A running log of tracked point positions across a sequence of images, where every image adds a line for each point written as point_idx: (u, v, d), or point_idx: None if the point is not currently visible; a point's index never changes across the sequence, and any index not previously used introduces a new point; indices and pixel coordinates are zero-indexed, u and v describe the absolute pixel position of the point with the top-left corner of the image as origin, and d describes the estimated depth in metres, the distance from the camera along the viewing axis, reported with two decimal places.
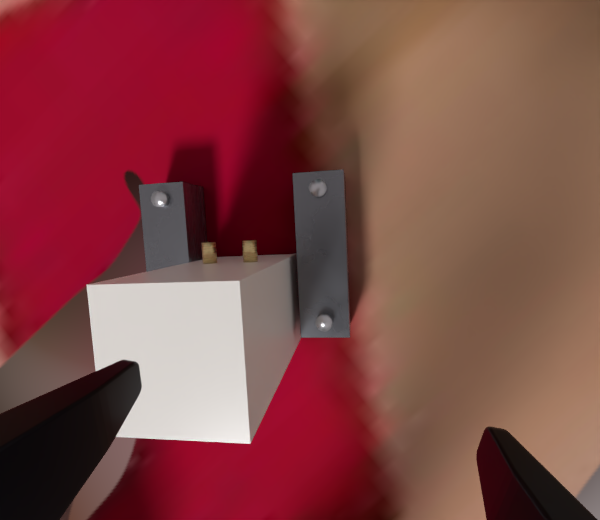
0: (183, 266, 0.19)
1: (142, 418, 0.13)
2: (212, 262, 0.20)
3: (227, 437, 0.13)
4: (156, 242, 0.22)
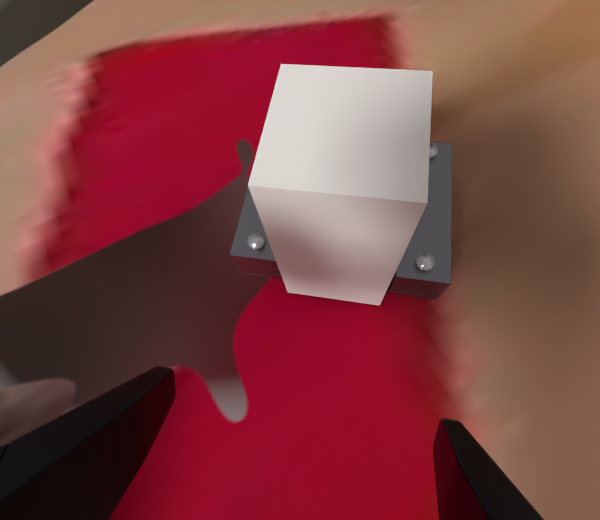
0: None
1: (302, 171, 0.12)
2: None
3: (400, 195, 0.11)
4: None
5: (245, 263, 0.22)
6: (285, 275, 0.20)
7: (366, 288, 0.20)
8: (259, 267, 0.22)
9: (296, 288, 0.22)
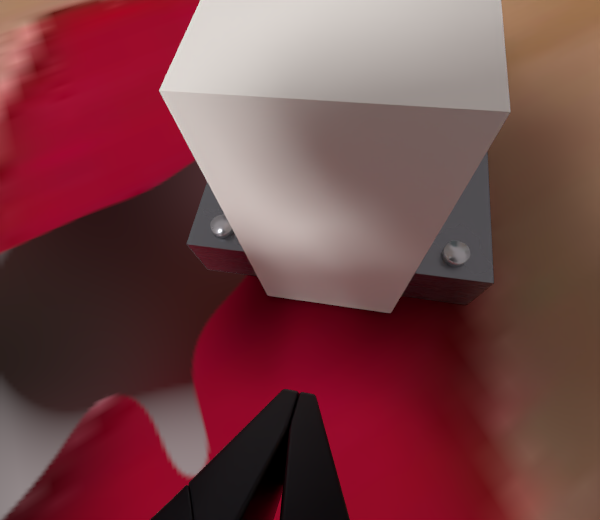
0: None
1: (262, 65, 0.06)
2: None
3: (452, 100, 0.06)
4: None
5: (209, 256, 0.17)
6: (260, 271, 0.14)
7: (374, 289, 0.14)
8: (229, 262, 0.17)
9: (278, 290, 0.16)
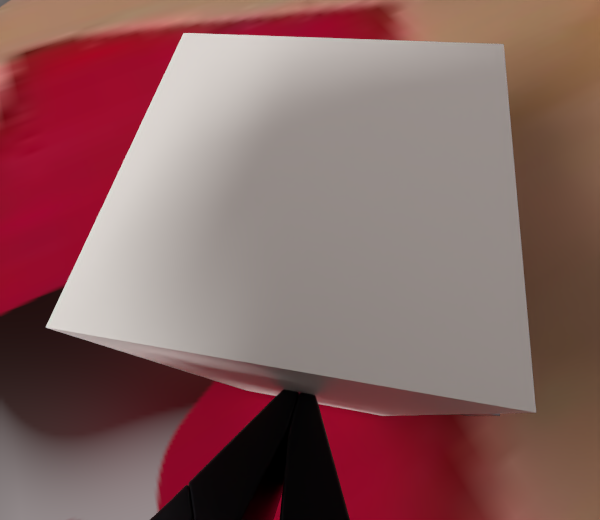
0: None
1: (189, 288, 0.05)
2: None
3: (451, 380, 0.04)
4: None
5: None
6: (232, 385, 0.12)
7: (362, 409, 0.12)
8: None
9: (256, 391, 0.14)
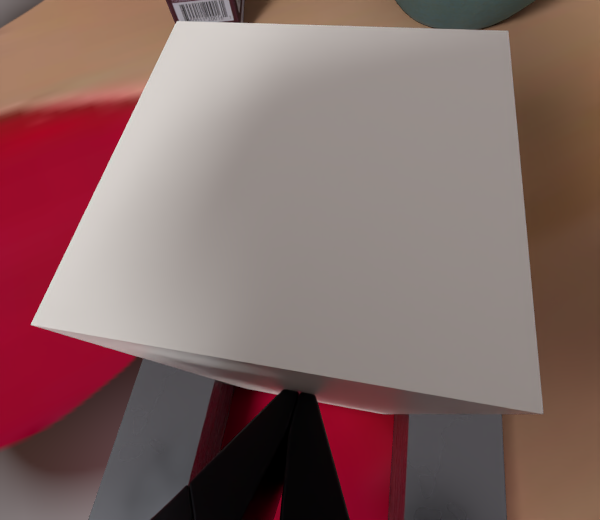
0: None
1: (180, 284, 0.04)
2: None
3: (454, 380, 0.04)
4: (149, 410, 0.13)
5: None
6: (230, 383, 0.12)
7: (362, 408, 0.12)
8: None
9: (254, 389, 0.14)
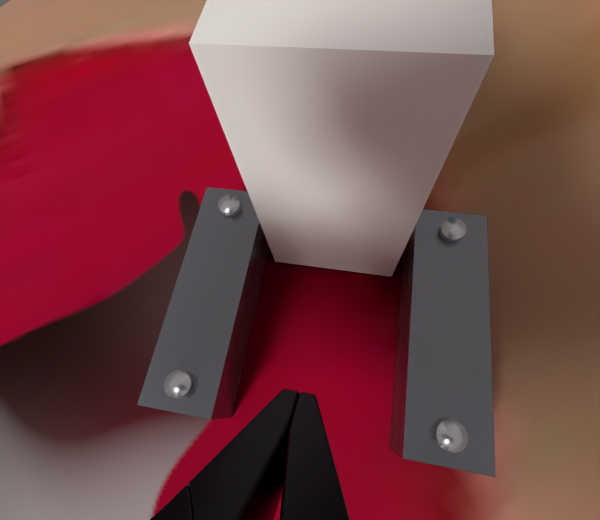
0: None
1: (279, 20, 0.07)
2: None
3: (445, 47, 0.07)
4: (202, 258, 0.16)
5: None
6: (269, 233, 0.15)
7: (376, 249, 0.15)
8: None
9: (285, 254, 0.17)
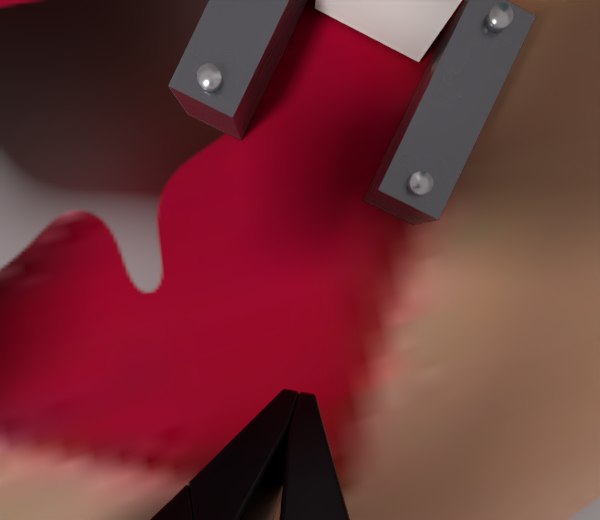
0: None
1: None
2: None
3: None
4: None
5: (191, 105, 0.16)
6: None
7: (422, 13, 0.15)
8: (210, 116, 0.16)
9: None
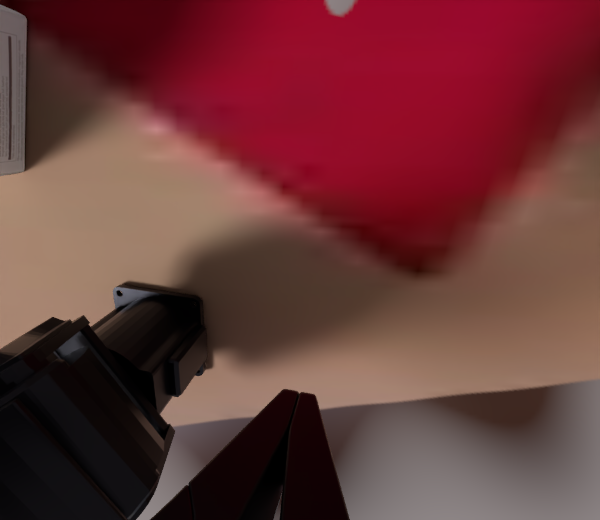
0: None
1: None
2: None
3: None
4: None
5: None
6: None
7: None
8: None
9: None
